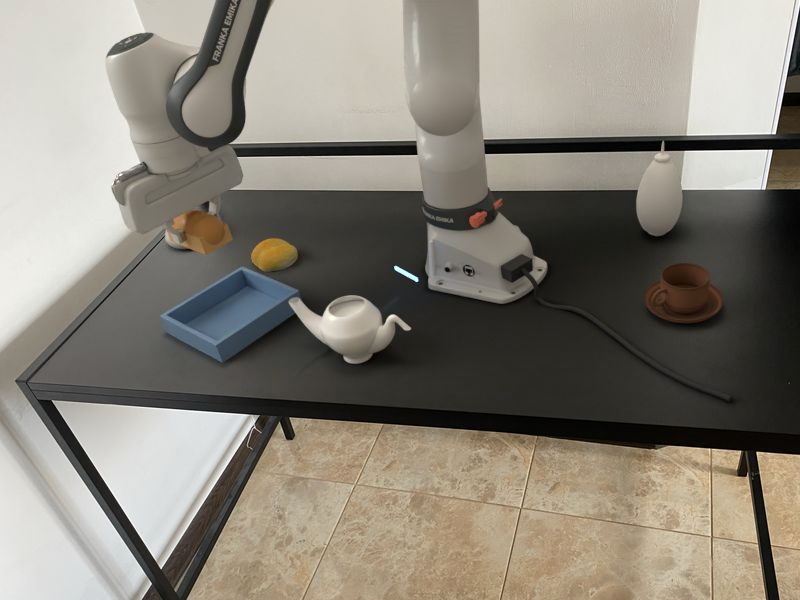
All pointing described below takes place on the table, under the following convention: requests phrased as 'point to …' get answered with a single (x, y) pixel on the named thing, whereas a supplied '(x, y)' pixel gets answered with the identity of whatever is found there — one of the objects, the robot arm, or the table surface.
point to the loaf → (202, 231)
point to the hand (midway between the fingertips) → (198, 231)
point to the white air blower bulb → (659, 196)
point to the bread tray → (230, 313)
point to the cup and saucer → (684, 294)
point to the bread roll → (274, 255)
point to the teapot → (350, 327)
